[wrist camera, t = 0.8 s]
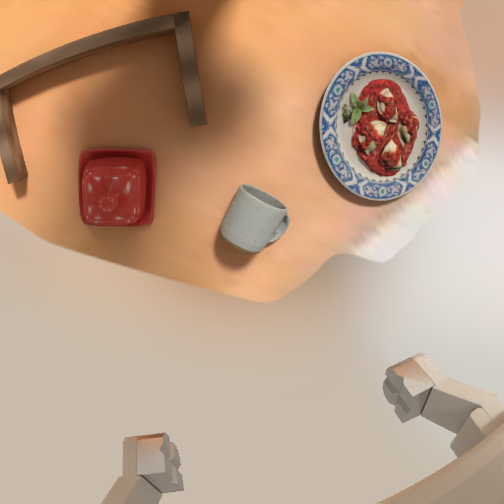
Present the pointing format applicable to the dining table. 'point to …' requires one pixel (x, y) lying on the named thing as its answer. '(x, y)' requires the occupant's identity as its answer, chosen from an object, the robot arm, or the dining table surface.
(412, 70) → the ceramic plate
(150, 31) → the dock
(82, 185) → the butter dish
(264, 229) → the ceramic mug
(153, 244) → the dining table surface
